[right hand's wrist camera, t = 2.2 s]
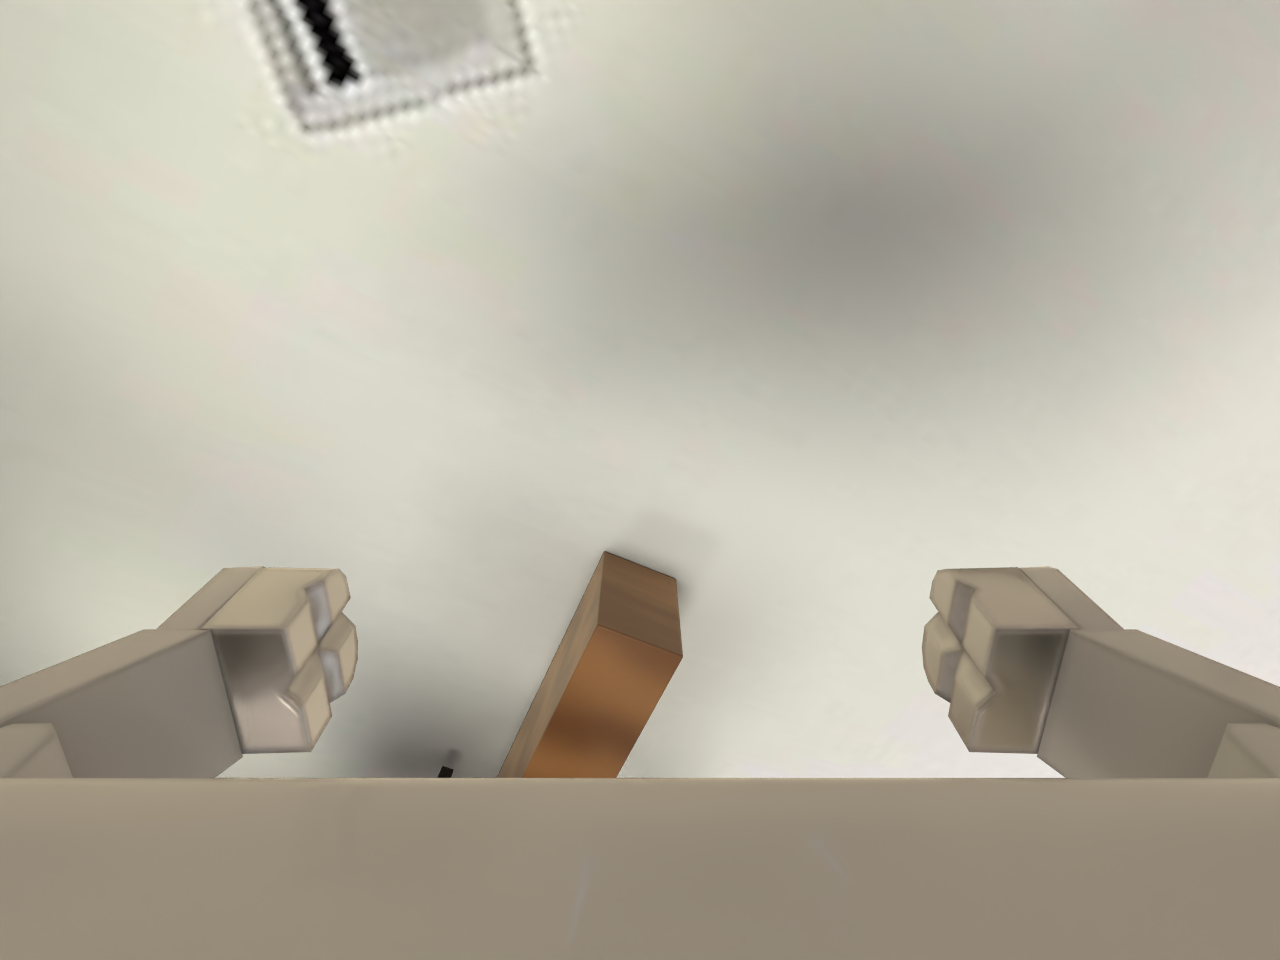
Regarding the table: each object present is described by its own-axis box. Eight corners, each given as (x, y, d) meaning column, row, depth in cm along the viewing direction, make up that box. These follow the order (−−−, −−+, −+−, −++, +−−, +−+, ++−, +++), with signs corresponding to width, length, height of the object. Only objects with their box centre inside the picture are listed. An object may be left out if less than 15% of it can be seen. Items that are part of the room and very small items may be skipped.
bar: (604, 550, 44) (597, 624, 37) (676, 578, 45) (683, 656, 37) (479, 813, 52) (452, 918, 44) (542, 834, 53) (526, 940, 45)
